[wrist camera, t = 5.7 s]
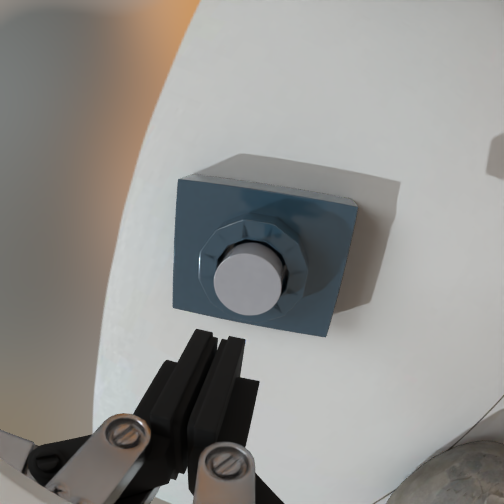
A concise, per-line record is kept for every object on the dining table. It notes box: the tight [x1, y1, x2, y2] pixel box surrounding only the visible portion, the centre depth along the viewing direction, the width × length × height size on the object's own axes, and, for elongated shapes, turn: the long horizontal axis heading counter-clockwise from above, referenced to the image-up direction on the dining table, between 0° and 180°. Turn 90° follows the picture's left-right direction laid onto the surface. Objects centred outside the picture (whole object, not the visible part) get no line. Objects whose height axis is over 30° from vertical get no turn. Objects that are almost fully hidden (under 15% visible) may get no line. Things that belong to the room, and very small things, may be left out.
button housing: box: [173, 174, 358, 337], centre depth 23 cm, size 12×10×5 cm
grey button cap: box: [214, 243, 284, 315], centre depth 20 cm, size 4×4×2 cm
